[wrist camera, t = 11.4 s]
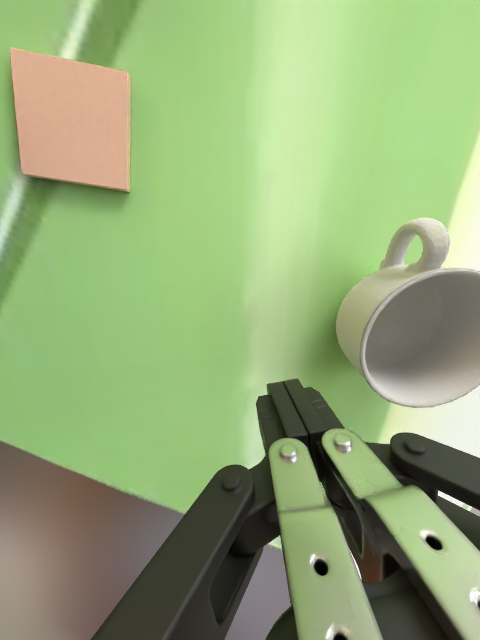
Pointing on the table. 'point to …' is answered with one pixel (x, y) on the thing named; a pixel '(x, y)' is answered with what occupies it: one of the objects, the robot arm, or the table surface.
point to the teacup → (415, 323)
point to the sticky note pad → (72, 120)
